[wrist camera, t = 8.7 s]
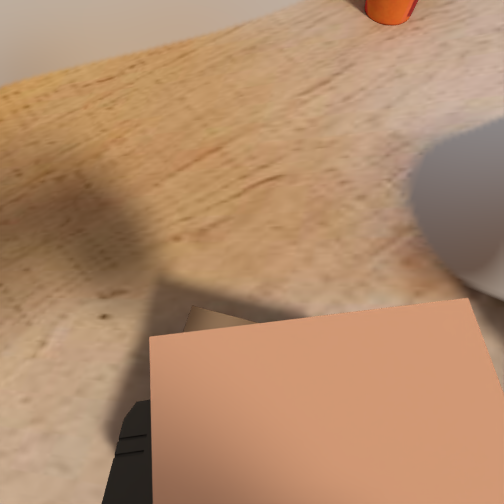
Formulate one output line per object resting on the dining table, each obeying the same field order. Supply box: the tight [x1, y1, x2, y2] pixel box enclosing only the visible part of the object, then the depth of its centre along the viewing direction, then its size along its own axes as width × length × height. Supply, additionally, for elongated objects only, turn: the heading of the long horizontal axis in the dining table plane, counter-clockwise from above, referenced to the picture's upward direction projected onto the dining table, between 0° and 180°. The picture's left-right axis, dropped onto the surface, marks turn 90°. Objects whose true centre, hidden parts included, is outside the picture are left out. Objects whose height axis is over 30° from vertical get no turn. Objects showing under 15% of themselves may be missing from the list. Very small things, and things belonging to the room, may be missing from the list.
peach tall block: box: [149, 298, 504, 504], centre depth 9 cm, size 5×5×9 cm
